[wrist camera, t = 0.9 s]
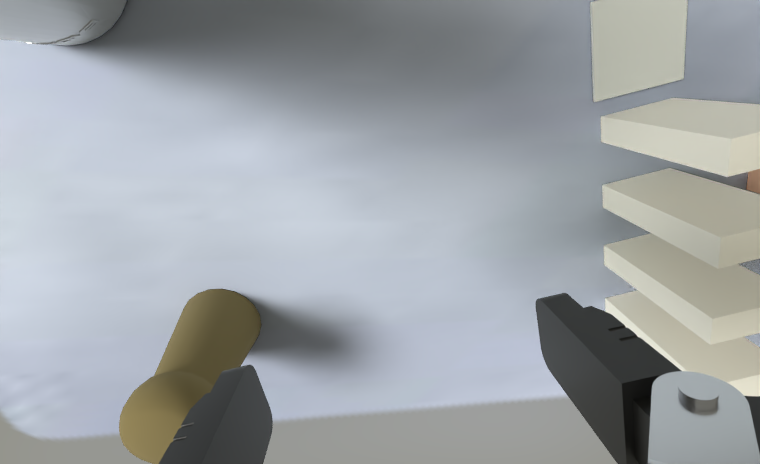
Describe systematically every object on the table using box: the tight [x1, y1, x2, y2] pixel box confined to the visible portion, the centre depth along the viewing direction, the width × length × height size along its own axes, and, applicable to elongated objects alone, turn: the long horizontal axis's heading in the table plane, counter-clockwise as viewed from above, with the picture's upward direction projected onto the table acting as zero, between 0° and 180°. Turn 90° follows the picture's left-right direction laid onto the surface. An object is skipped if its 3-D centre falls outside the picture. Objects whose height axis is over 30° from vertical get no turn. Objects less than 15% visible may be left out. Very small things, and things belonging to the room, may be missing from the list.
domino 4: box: [605, 290, 760, 396], centre depth 28 cm, size 2×5×10 cm, turn 104°
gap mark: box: [590, 0, 688, 102], centre depth 25 cm, size 6×6×1 cm
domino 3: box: [604, 233, 760, 345], centre depth 26 cm, size 2×5×10 cm, turn 104°
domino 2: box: [602, 168, 760, 269], centre depth 24 cm, size 2×5×10 cm, turn 104°
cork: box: [119, 289, 261, 464], centre depth 26 cm, size 6×6×11 cm
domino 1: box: [601, 98, 760, 177], centre depth 23 cm, size 2×5×10 cm, turn 104°
